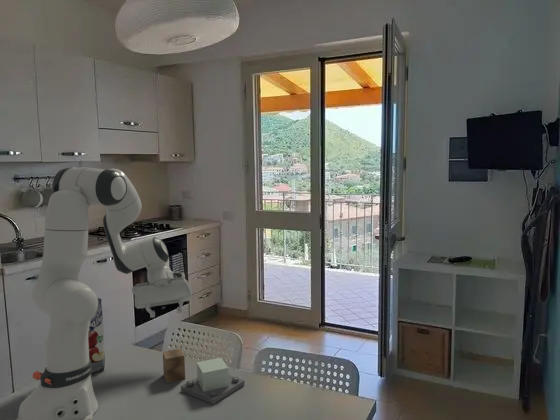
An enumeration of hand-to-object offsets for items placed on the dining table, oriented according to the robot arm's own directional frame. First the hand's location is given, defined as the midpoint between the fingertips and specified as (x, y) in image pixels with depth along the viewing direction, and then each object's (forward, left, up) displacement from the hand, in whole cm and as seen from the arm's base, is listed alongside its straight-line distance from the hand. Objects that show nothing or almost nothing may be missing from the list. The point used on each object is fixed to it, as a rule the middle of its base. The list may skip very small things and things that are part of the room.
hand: (166, 314), depth 156 cm
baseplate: (-4, -27, -17) cm, 32 cm away
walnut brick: (-6, -11, -17) cm, 22 cm away
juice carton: (-21, +16, -18) cm, 32 cm away
